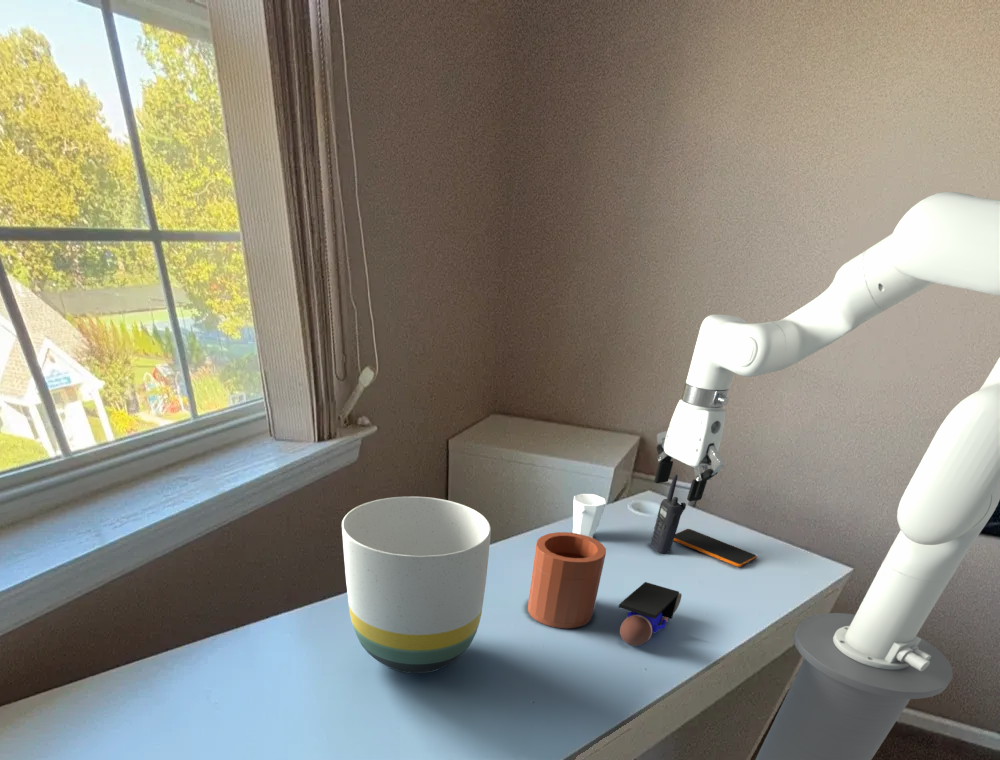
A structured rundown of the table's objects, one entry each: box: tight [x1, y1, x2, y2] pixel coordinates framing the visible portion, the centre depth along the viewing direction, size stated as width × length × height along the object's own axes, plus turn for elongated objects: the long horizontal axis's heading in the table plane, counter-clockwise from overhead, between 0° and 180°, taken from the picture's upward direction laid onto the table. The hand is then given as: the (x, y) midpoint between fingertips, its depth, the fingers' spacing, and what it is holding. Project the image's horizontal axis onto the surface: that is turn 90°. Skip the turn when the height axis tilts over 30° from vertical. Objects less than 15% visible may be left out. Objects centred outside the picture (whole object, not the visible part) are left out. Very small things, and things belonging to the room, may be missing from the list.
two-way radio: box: [650, 474, 687, 554], centre depth 128 cm, size 6×4×15 cm
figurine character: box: [618, 581, 682, 647], centre depth 105 cm, size 7×8×15 cm
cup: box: [571, 493, 607, 539], centre depth 132 cm, size 7×10×8 cm
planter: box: [341, 496, 492, 674], centre depth 90 cm, size 20×20×21 cm
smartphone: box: [673, 528, 758, 568], centre depth 133 cm, size 8×17×1 cm, turn 43°
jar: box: [527, 531, 607, 629], centre depth 106 cm, size 11×11×12 cm
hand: (676, 490), depth 125 cm, fingers open, 9 cm apart
